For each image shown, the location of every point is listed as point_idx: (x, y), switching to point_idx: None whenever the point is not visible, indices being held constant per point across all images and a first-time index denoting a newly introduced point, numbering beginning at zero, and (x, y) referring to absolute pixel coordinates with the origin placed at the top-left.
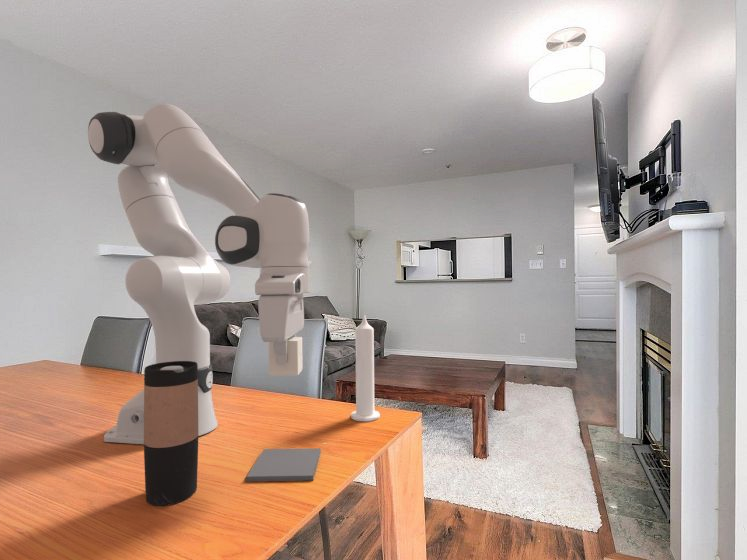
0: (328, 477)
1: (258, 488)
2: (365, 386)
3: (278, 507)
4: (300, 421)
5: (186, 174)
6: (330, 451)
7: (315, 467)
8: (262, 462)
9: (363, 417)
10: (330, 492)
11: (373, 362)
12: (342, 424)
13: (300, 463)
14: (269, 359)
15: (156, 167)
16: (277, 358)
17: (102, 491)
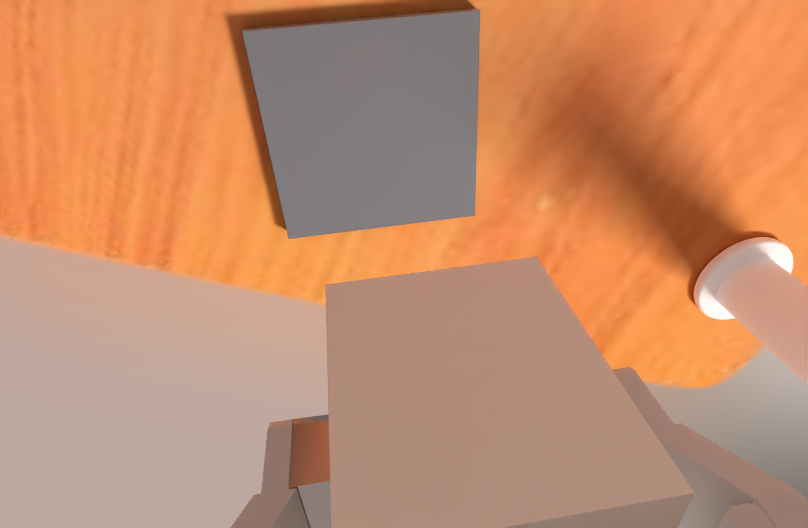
0: (312, 263)
1: (210, 90)
2: (795, 359)
3: (126, 186)
4: (785, 60)
5: None
6: (478, 233)
7: (343, 230)
8: (360, 50)
9: (710, 284)
10: (236, 284)
11: None
12: (694, 223)
13: (361, 184)
14: (328, 380)
15: None
16: (267, 468)
17: None
